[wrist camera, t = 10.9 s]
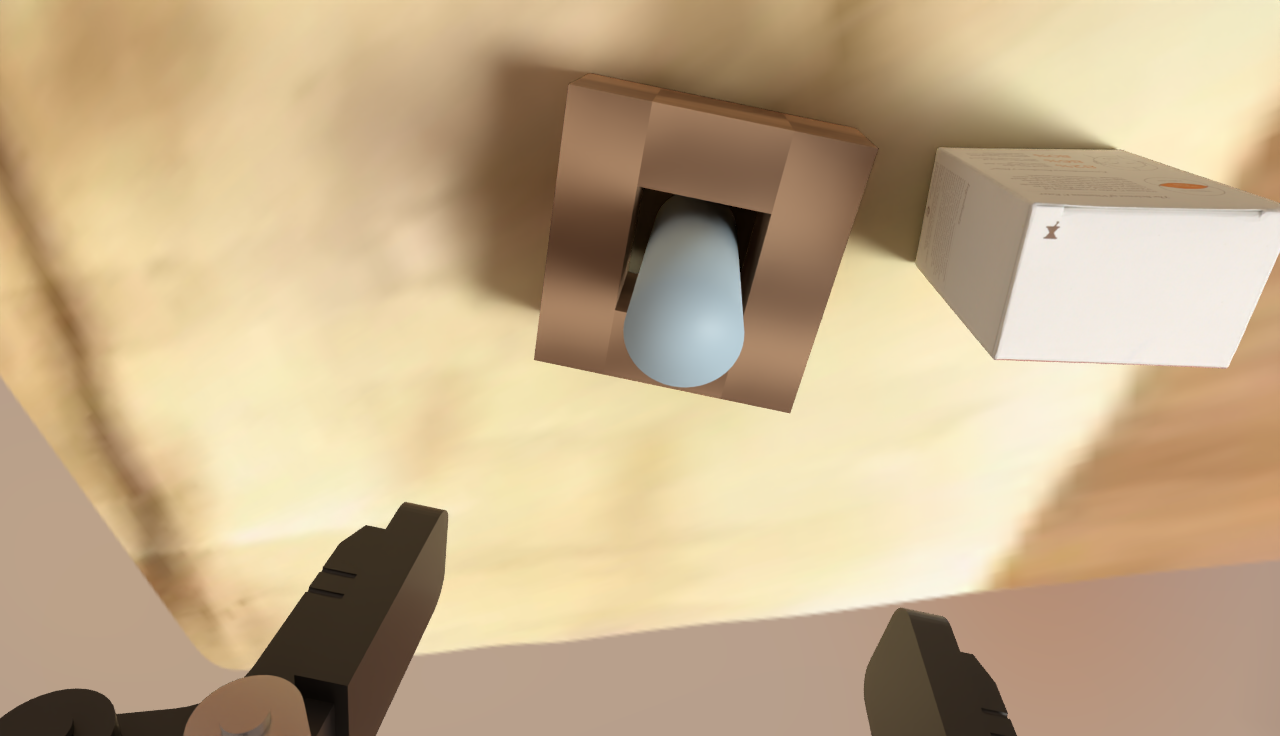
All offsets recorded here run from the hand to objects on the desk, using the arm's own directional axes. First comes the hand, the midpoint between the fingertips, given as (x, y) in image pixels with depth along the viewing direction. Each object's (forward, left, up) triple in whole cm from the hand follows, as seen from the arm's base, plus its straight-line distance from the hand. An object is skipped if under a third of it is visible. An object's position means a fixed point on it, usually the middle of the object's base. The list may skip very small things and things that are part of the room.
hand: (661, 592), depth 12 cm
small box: (-4, +14, -24) cm, 28 cm away
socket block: (0, 0, -24) cm, 24 cm away
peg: (0, 0, -24) cm, 24 cm away
